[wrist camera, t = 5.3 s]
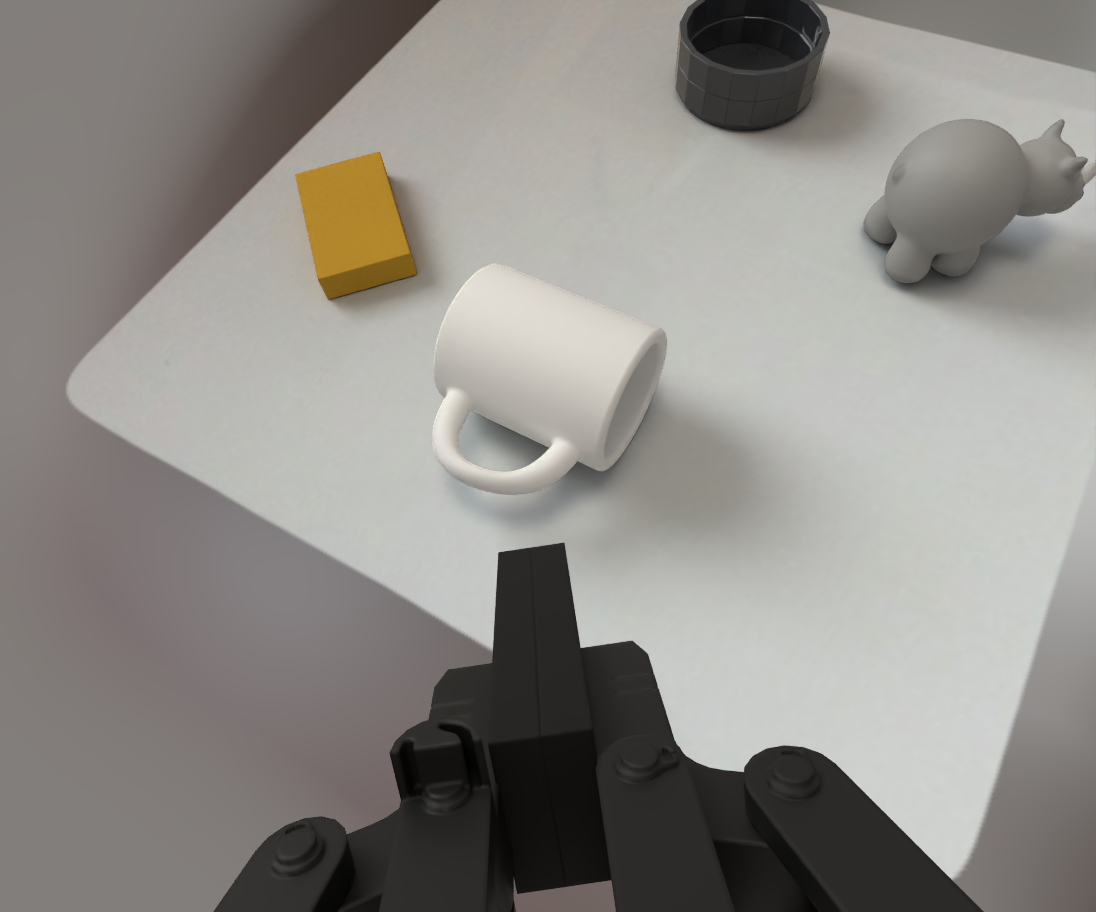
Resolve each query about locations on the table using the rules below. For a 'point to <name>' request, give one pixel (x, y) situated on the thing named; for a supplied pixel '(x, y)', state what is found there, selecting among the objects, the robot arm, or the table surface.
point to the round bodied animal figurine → (968, 193)
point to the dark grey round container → (749, 60)
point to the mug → (541, 376)
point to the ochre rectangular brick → (354, 226)
